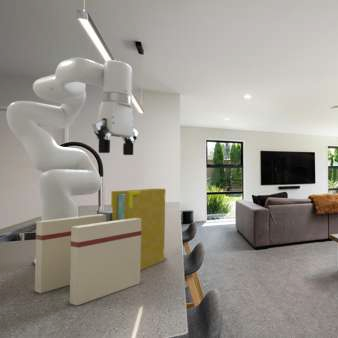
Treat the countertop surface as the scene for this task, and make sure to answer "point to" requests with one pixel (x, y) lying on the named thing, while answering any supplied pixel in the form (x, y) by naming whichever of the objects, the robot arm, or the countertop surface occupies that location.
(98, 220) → the cream book
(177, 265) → the countertop surface
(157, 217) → the book
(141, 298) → the countertop surface
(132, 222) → the cream panel
